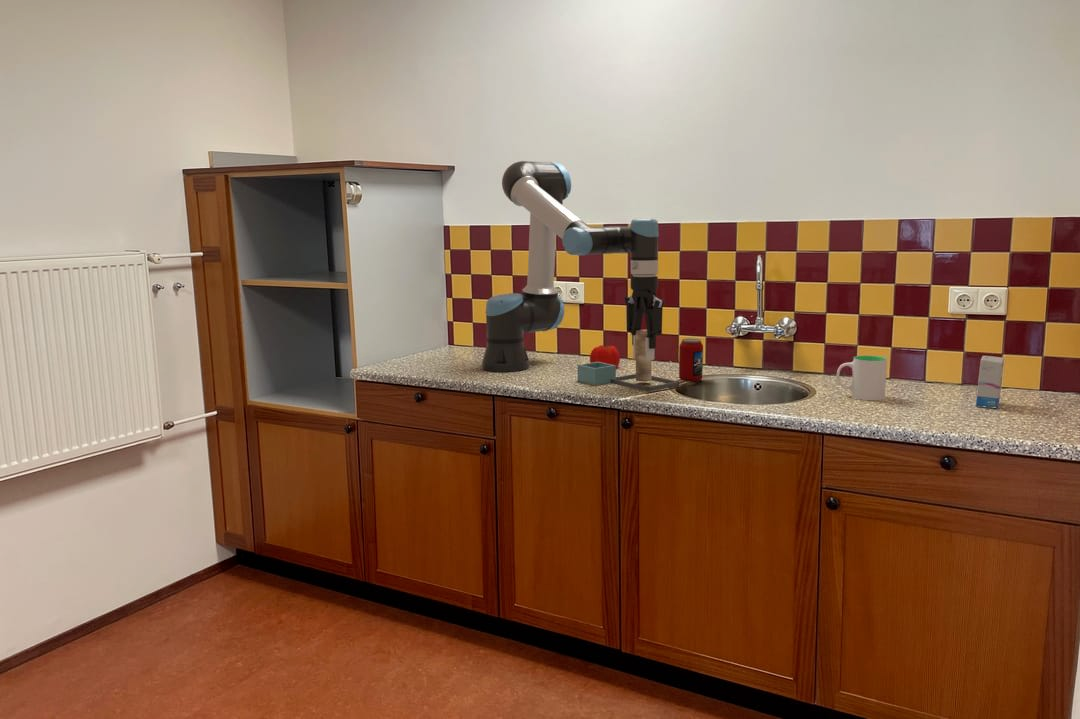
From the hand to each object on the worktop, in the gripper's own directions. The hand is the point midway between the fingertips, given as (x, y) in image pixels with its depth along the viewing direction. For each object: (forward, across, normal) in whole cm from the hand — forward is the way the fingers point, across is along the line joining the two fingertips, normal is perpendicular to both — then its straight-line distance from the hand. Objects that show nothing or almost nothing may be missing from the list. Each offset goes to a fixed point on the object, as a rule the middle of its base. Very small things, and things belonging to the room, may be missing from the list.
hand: (643, 358), depth 226 cm
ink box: (+8, +71, +50) cm, 87 cm away
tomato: (+8, -26, +8) cm, 28 cm away
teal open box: (+8, -11, -8) cm, 16 cm away
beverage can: (+8, +3, +16) cm, 18 cm away
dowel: (+6, 0, 0) cm, 6 cm away
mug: (+8, +46, +34) cm, 58 cm away
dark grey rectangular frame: (+8, 0, 0) cm, 8 cm away
